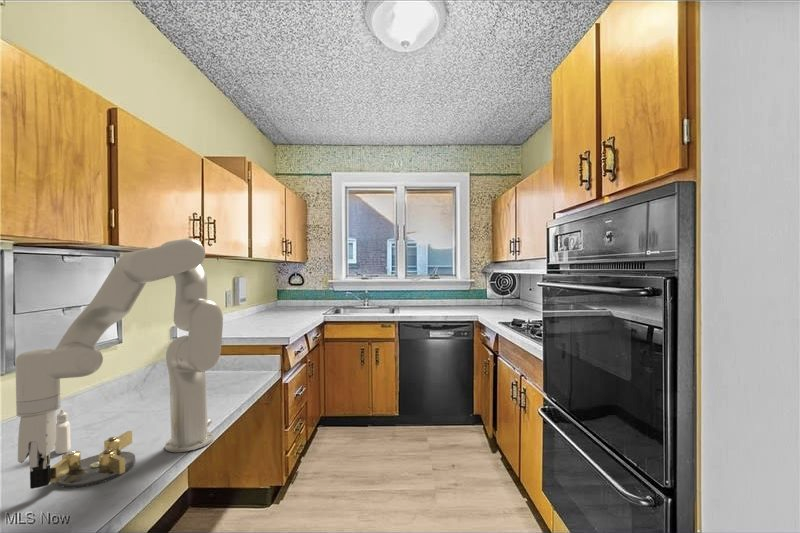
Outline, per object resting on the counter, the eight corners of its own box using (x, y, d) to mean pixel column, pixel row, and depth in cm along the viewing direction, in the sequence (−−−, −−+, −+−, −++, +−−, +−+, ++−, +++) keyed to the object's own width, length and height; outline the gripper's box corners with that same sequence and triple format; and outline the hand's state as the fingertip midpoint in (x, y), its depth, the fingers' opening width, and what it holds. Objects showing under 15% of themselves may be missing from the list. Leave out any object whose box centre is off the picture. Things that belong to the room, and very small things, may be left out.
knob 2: (114, 458, 107) (114, 440, 107) (101, 458, 107) (100, 441, 107) (136, 444, 116) (136, 427, 116) (124, 444, 116) (123, 428, 116)
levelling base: (91, 458, 112) (90, 448, 112) (148, 456, 112) (148, 446, 112) (39, 488, 96) (38, 478, 96) (106, 486, 96) (105, 475, 96)
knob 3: (96, 470, 100) (95, 451, 100) (112, 464, 103) (112, 446, 103) (114, 478, 96) (113, 458, 96) (130, 471, 99) (130, 452, 99)
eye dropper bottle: (77, 446, 120) (76, 405, 121) (65, 454, 115) (64, 412, 115) (61, 447, 120) (60, 407, 120) (47, 455, 114) (46, 413, 114)
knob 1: (68, 467, 102) (67, 449, 103) (84, 465, 103) (83, 447, 103) (44, 485, 94) (44, 465, 94) (62, 483, 94) (61, 463, 95)
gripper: (27, 399, 97) (28, 476, 97) (5, 417, 84) (6, 506, 84) (67, 394, 101) (68, 468, 100) (51, 410, 88) (53, 495, 87)
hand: (40, 485), depth 92 cm, fingers closed
